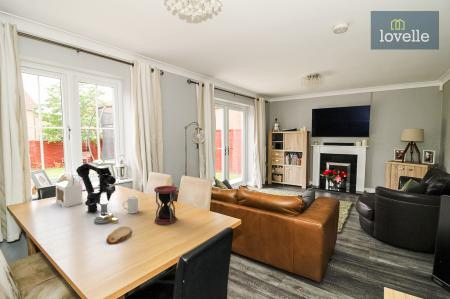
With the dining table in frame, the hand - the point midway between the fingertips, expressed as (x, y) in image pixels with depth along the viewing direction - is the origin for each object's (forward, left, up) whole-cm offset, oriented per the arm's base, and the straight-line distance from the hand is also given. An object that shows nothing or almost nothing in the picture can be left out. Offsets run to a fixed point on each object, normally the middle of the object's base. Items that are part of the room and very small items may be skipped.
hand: (103, 202), depth 172 cm
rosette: (+12, -10, -10) cm, 19 cm away
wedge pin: (0, 0, -10) cm, 10 cm away
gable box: (-53, +13, -10) cm, 55 cm away
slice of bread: (+38, -26, -10) cm, 47 cm away
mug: (+16, +11, -10) cm, 22 cm away
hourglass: (+53, +4, -10) cm, 54 cm away
